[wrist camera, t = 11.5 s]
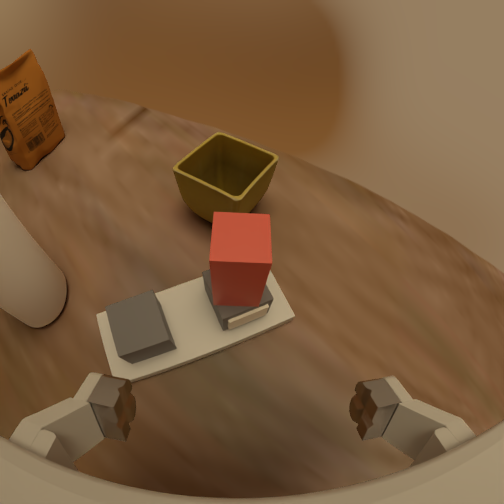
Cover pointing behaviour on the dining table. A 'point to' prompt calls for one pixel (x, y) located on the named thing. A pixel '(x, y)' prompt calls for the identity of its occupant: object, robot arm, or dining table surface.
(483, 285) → the dining table surface
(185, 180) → the flower pot
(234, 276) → the tall red square pillar
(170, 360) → the grey cubes on base
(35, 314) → the alcohol
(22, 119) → the coffee package
